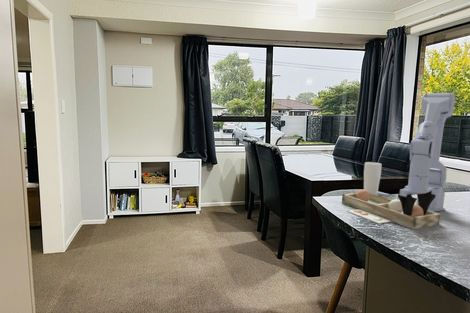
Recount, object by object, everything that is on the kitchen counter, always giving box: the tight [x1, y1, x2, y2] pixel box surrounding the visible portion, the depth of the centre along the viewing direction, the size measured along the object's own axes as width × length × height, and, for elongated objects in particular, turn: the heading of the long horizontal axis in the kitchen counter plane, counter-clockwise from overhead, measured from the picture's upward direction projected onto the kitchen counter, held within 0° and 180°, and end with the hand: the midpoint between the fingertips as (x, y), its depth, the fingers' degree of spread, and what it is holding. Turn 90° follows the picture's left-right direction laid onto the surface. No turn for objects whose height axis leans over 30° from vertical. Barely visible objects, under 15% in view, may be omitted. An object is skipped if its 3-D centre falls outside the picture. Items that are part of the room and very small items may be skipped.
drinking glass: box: [363, 161, 383, 195], centre depth 138 cm, size 7×7×15 cm
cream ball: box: [389, 198, 403, 213], centre depth 114 cm, size 5×5×5 cm
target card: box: [347, 208, 393, 225], centre depth 113 cm, size 6×14×1 cm, turn 26°
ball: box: [356, 189, 370, 202], centre depth 128 cm, size 5×5×5 cm
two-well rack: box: [341, 192, 441, 230], centre depth 118 cm, size 13×31×4 cm, turn 26°
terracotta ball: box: [411, 204, 424, 217], centre depth 108 cm, size 5×5×5 cm
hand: (414, 215), depth 108 cm, fingers open, 7 cm apart
